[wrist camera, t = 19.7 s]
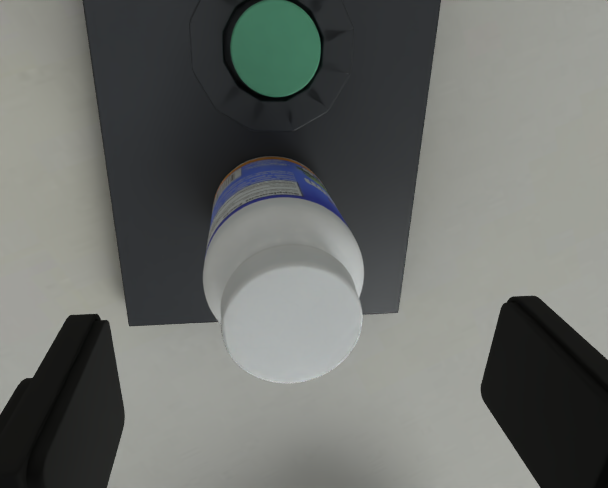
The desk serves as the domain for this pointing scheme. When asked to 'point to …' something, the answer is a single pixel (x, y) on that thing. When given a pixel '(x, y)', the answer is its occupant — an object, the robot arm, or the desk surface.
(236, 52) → the button
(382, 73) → the dark grey flat slab
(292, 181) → the pill bottle
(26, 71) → the desk surface
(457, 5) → the desk surface
